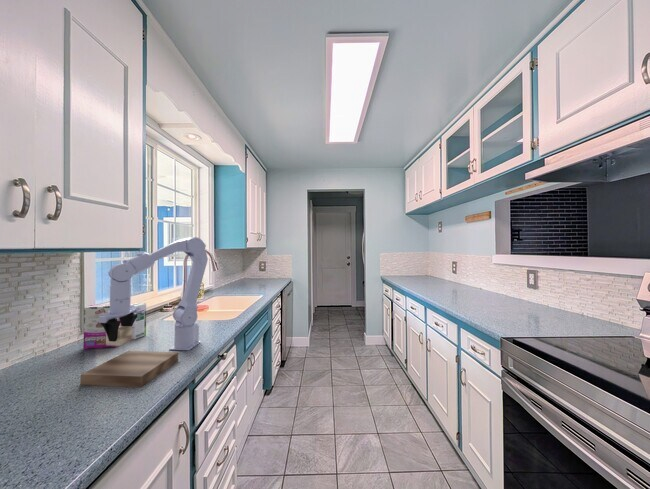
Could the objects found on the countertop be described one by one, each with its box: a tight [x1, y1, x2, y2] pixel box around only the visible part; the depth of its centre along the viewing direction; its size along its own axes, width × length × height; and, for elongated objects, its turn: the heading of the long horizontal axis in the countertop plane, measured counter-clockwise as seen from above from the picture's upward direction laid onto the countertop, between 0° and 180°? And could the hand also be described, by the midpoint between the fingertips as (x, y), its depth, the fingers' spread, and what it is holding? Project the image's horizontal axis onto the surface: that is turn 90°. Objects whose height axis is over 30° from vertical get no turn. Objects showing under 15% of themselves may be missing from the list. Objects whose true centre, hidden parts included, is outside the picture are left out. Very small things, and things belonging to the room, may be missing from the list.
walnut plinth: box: [80, 350, 179, 388], centre depth 87 cm, size 18×18×3 cm
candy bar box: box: [83, 303, 121, 350], centre depth 108 cm, size 11×5×16 cm, turn 105°
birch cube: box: [106, 326, 133, 347], centre depth 93 cm, size 5×5×5 cm
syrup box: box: [130, 302, 147, 340], centre depth 120 cm, size 6×6×14 cm
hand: (119, 338), depth 93 cm, fingers closed on birch cube, 5 cm apart
